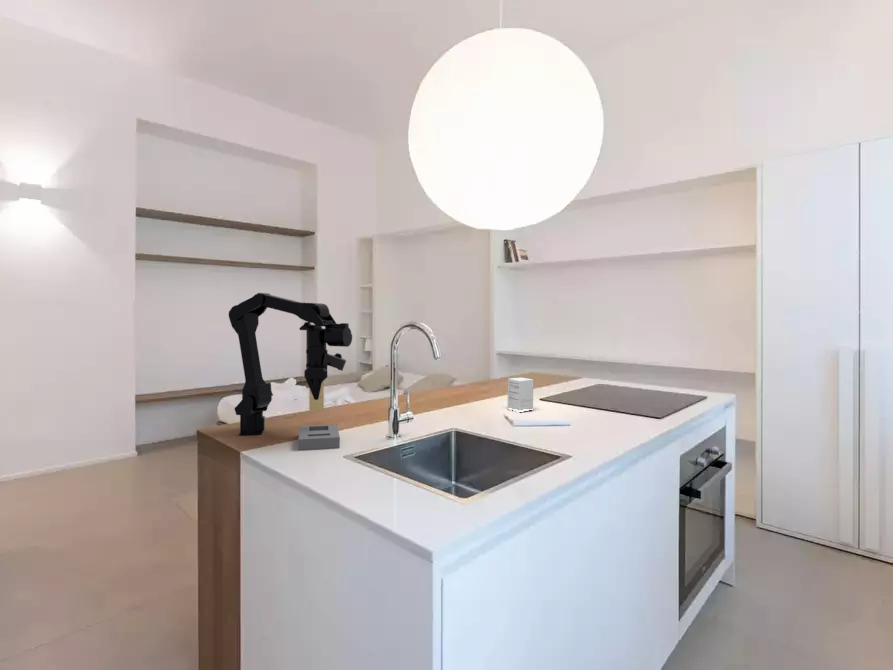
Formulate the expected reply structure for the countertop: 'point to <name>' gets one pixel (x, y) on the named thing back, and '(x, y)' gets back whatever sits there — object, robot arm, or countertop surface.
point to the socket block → (318, 437)
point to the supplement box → (520, 393)
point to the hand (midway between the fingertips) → (316, 398)
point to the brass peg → (317, 401)
